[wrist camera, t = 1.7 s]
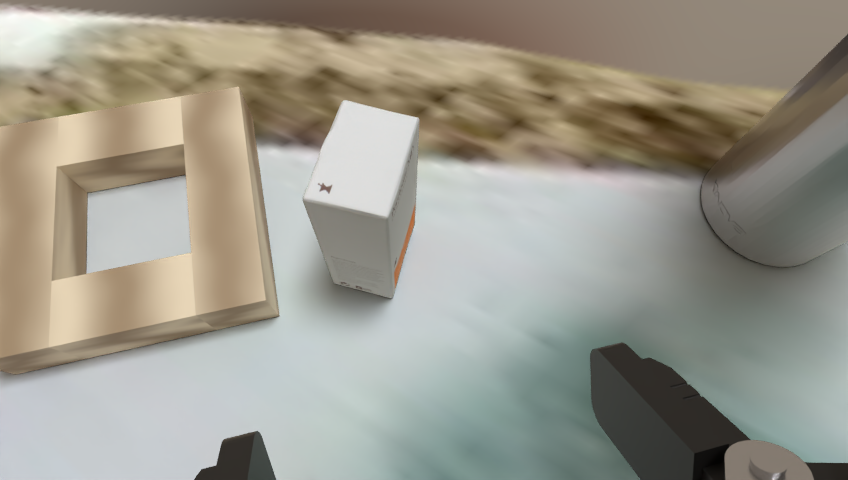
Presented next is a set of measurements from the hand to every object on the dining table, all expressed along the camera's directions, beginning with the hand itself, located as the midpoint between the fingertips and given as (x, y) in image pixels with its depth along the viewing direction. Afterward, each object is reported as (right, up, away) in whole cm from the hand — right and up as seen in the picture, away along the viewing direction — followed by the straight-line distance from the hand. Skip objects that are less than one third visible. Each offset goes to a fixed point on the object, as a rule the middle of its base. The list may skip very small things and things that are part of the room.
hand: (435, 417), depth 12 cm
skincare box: (-4, +3, +23) cm, 24 cm away
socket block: (-19, +5, +23) cm, 31 cm away
